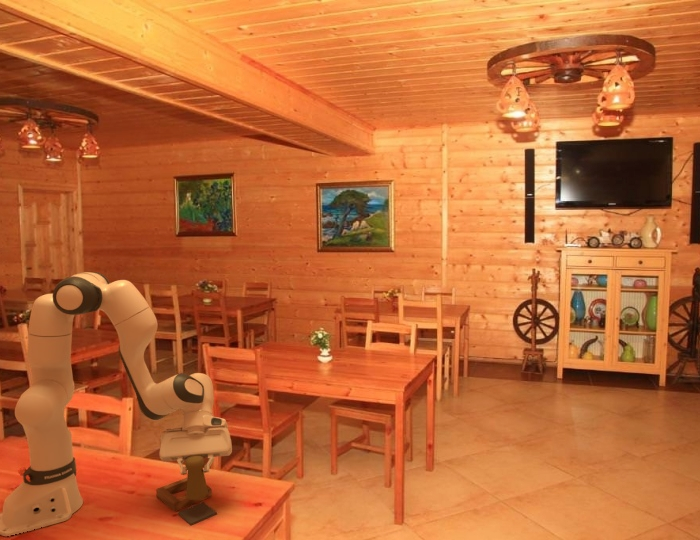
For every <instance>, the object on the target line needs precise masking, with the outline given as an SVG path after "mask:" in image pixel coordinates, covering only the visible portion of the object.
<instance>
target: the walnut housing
mask: <svg viewBox="0 0 700 540" xmlns="http://www.w3.org/2000/svg"><path fill="white" fill-rule="evenodd" d="M186 489H187V477H184V478H182V479H179V480H177V481H174V482H171V483H168V484H165V485H162V486H161V487H160V486H159V487H158V488H155V491H156V498H158V499H159V500H160V501H161V502H162V503H164V504H165V505H166V506H167V507H168V508H169V509H171V511H173V512H174V513H175V512H179V511H181V510H184V509H186V508H187V507H191V506H192V505H196V503H197V504H198V503H201V501H202V502H203V501H204V500H207V499H208V498H212V497H213V491H212V489H213V488H212V487H210V486H209V485H207V490H208V494H207V495H206V496H205V497H203V498H201V499H197V500H190V499H188V498H187V497H186V494H185V495H183V496H180V497H178V498H177V496H175V495H174V494H177V493H179V492H183V491H184V490H185V491H186ZM211 496H212V497H211Z"/></svg>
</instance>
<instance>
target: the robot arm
mask: <svg viewBox="0 0 700 540" xmlns="http://www.w3.org/2000/svg"><path fill="white" fill-rule="evenodd" d="M52 291H53V292H52V293H46V294H44V295H40V296H39V297H37V298H36V299H35V300H34V302H33V305H32V307H31V310H30V311H31V312H30V315H29V316H30V317H29V320H28V321H29V323H28V329H27V331H28V333H27V352H26V360H27V363H28V364H29V367H30V373H31V384H30V386H29V387H28V388H27V389H26V390H25V391H24V392H23V393H21V395H20V397H19V398H18V400H17V402H16V405H15V408H14V416H15V418H16V421H17V422H18V423H19V424H20V425H22V428H23V431H24V433H25V437H26V440H27V445H28V454H29V464H30V465H29V466H28V468H26V467H25V466H22V467H19V469H18V471H17V472H18V474H19V475H20V476H21V477H22V478H23V481H22V483H20V484H19V485H18V486H16V488H15V489H14V490H13V491H12V492H11V493H10V494H9V495H7V497H5V499H4V501H3V506H2V512H0V535H1V536H4V537H7V536H9V537H11V536H10V535H14V536H16V535H15V534H17V535H20V534H19V533H21V534H24V533H27V531H28V532H30V531H34V529H35V530H38V529H42V528H45V527H48V526H52V525H55V524H59V523H63V522H67V521H69V520H70V519H71V518H72V516H73V514H74V513H76V512H77V511H78V510H79V509H80V508H82V506H83V504H84V499H83V497H82V495H81V493H80V489H79V486H78V482H77V477H76V476H77V462H76V458H75V457H74V449H73V438H72V432H71V430H70V429H69V428H68V425H67V422H66V419H65V409H66V407H67V406H68V405H69V403H70V402H71V400H72V399H73V396H74V392H75V381H74V377H73V376H74V375H73V370H72V358H71V357H72V355H71V354H72V343H73V342H72V340H73V323H74V317H75V315H76V316H77V315H78V316H79V315H84V314H88V313H93V312H97V311H102V312H103V313H104V314H105V315H106V316H107V318H108V319H109V320H110V322H111V323H112V325H113V327H114V329H115V330H116V333H117V336H118V340H119V345H118V352H119V356H120V359H121V360H120V361H121V362H122V365H123V368H124V370H125V371H126V373H127V374H126V375H127V376H128V379H129V381H130V384H131V385H132V388H133V390H134V392H135V396H136V400H137V404H138V407H139V409H140V411H141V413H142V414H143V415H144V416H145V417H146V418H148V419H150V420H153V421H159V420H161V419H163V418H164V417H166V416H168V415H170V414H172V413H174V412H177V411H179V410H180V411H182V412H183V414H182V424H181V427H175V428H166V430H164V431H162V432H161V434H160V439H159V441H160V443H161V444H160V448H159V453H158V454H159V455H158V456H159V459H160V460H161V461H162V462H175V461H177V463H178V465H179V467H180V475H181V476H185V475H186V476H187V474H188V470H187V469H186V466H184V465H183V464H185V463H184V462H185V461H186V460H187V459H188V458H189V457H191V456H195V455H199V456H202V457H203V459H205V458H207V459H208V461H207V463H206V464H204V467H203V471H204V474H205V473H210V470H211V469H210V467H211V466H212V464H213V463H214V459H215V458H217V457H226V456H227V457H228V456H230V455H231V454H232V452H233V446H232V439H231V433H230V431H229V425H228V422H227V420H226V419H225V418H221V417H218V416H217V417H216V416H214V413H213V406H214V401H215V398H214V396H215V395H214V394H215V393H214V385H213V382H212V379H211V377H210V376H209V375H207V374H205V373H201V372H195V373H192V374H187V373H183V372H181V373H178V374H175V375H173V376H170V377H169V378H166V379H164V380H162V381H160V382H159V383H156V382H155V381H154V379H153V378H152V376H151V375H152V374H151V373H150V371H149V368H148V366H147V363H146V362H145V355H144V354H145V351H146V349H147V347H149V344H150V343H151V342H152V341H153V339H154V338H155V335H156V333H157V332H158V331H157V330H158V326H159V325H158V319H157V317H156V315H155V313H154V311H153V310H152V308H151V307H150V305H149V303H148V301H147V300H146V298H145V297H144V295H142V293H141V292H140V291H139V290H138V288H137V287H136V286H135V285H134V283H132V281H129V280H127V279H120V280H119V279H118V280H115V281H113V282H110V281H109V279H108V278H107V276H105V275H104V274H102V273H100V272H97V271H94V270H93V271H90V270H89V271H85V272H79V273H78V272H77V273H75V274H73V275H70V276H68V277H65V278H63V279H61V280H60V281H59V282H58V283H57V284H56V285H55V287H54V289H53V290H52ZM41 527H42V528H41ZM23 532H24V533H23Z"/></svg>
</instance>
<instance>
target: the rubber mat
mask: <svg viewBox="0 0 700 540" xmlns="http://www.w3.org/2000/svg"><path fill="white" fill-rule="evenodd" d="M177 515H178V516H179V517H180V518H181V519H182V520H184V521H185V523H187V524H189V526H193V525H196V524H197V523H200V522H203V521H204V520H207V519H209V518H212V517H213V516H214V517H215V516H216V515H218V512H217V511H216V510H214V509H213V508H212V507H211V506H210V505H208V504H206V503H205V501H202V502H198V503H197V504H193V506H192V505H191V506H189V507H188V508H187V507H186V508H184V509H181V510H179V511H177Z"/></svg>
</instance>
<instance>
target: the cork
mask: <svg viewBox="0 0 700 540" xmlns="http://www.w3.org/2000/svg"><path fill="white" fill-rule="evenodd" d="M204 459H205V458H203V457H202V456H199V455H195V456H191V457H189V458H188V459H187V460H185V463H184V467H186V469H187V474H186V478H187V489H185V491H186V492H185V495H186V497H187V498H188V499H190V500H197V499H201V498H203V497H205V496H206V495H207V494H208V490H207V486H208V485H207V482H206V477H205V473H204V471H203V469H204V465H205V460H204Z"/></svg>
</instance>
